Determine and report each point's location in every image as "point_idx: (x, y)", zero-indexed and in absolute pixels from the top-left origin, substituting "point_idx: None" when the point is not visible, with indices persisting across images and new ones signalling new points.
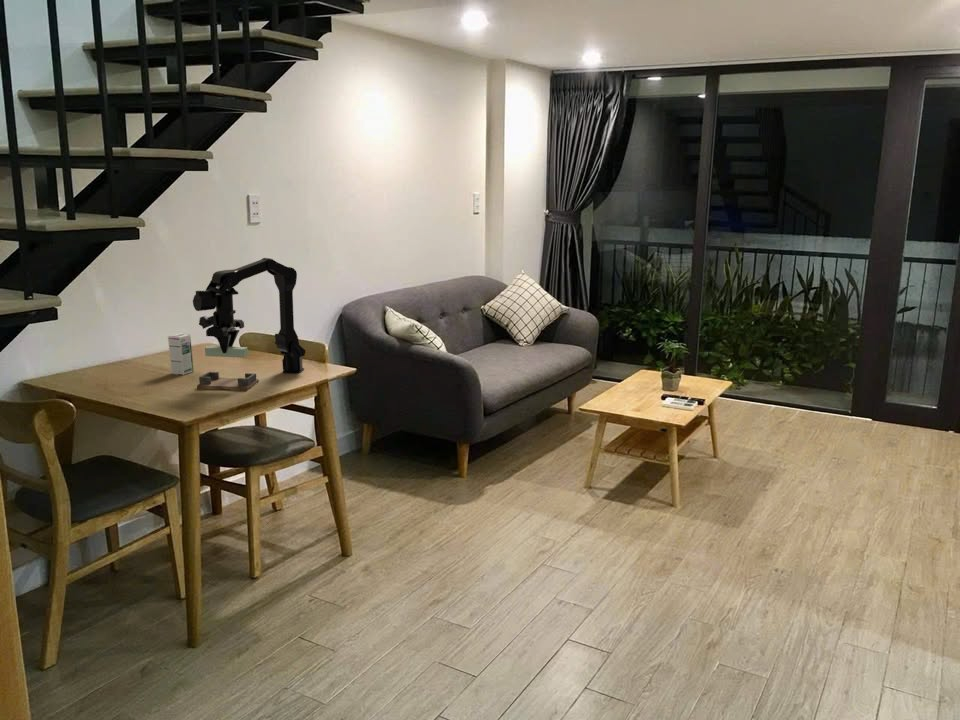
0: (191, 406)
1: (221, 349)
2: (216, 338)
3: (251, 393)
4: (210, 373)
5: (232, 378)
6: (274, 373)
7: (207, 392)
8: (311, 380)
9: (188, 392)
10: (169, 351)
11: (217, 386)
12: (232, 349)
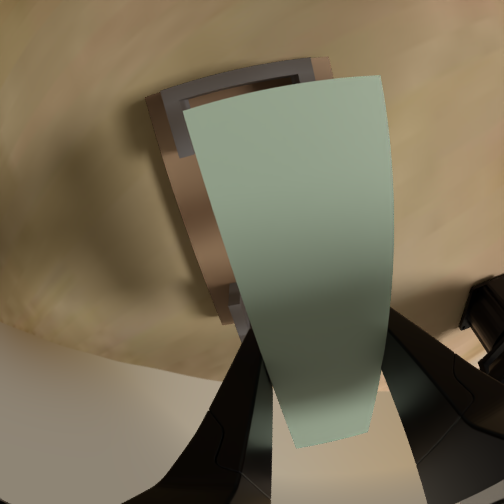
0: (5, 256)
1: (235, 357)
2: (147, 490)
3: (198, 340)
4: (298, 79)
5: None
6: (468, 267)
7: (122, 189)
8: (386, 384)
9: (85, 111)
10: None
11: (178, 205)
12: (282, 409)
